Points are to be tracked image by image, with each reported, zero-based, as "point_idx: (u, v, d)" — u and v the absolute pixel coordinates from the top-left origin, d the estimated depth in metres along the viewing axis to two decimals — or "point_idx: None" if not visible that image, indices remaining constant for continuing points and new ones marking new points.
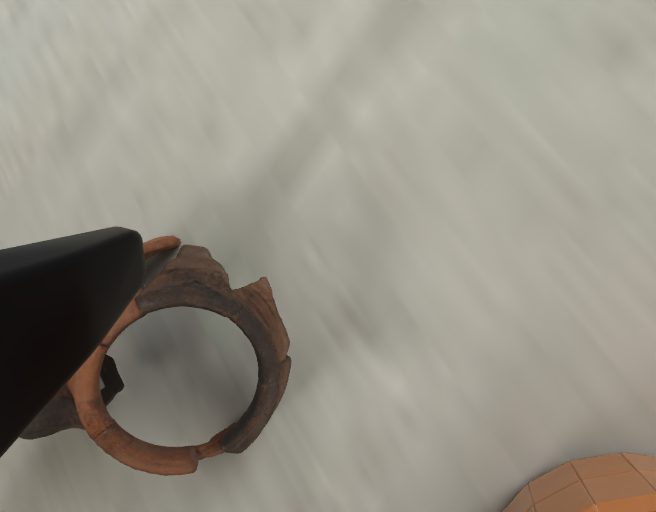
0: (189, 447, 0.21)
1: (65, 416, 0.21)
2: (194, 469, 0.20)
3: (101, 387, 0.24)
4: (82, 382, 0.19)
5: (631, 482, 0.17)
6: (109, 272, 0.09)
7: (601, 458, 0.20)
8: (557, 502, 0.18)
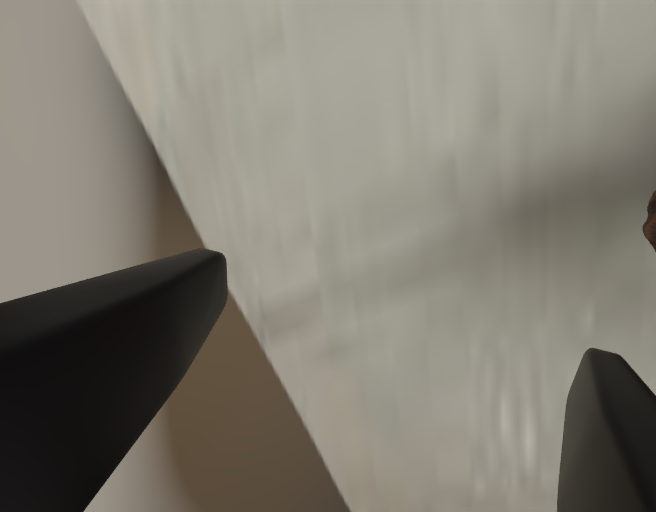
0: None
1: None
2: None
3: None
4: None
5: None
6: (198, 297, 0.08)
7: None
8: None
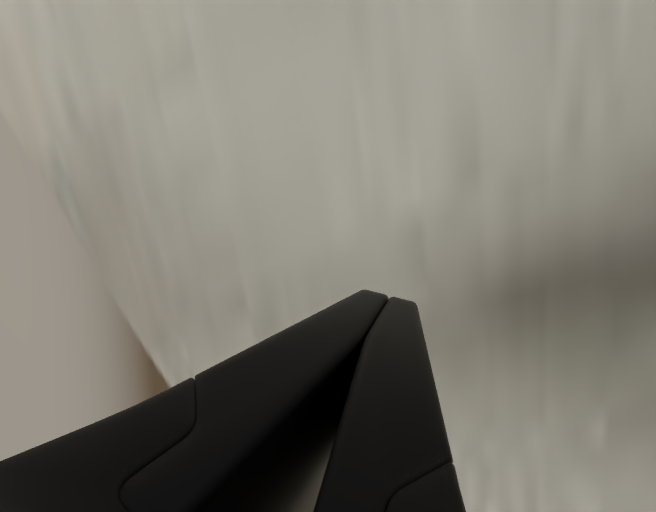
0: None
1: None
2: None
3: None
4: None
5: None
6: None
7: None
8: None
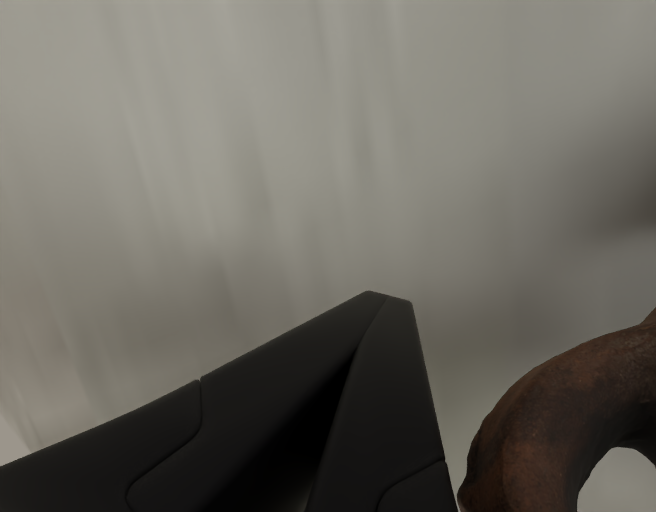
0: None
1: None
2: None
3: None
4: None
5: None
6: None
7: None
8: None
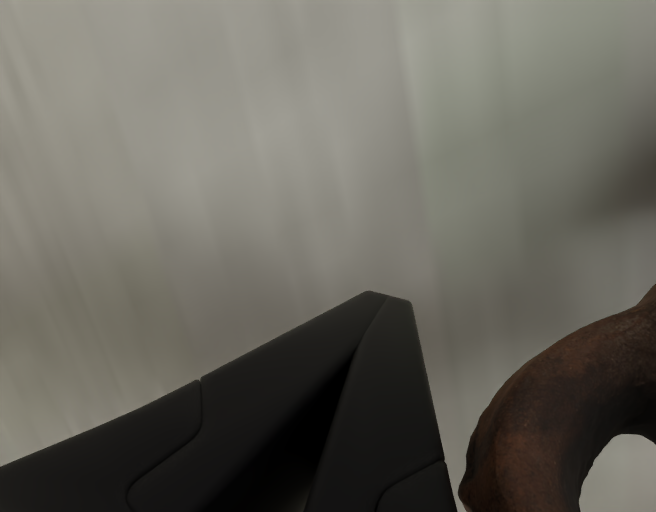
0: None
1: None
2: None
3: None
4: None
5: None
6: None
7: None
8: None
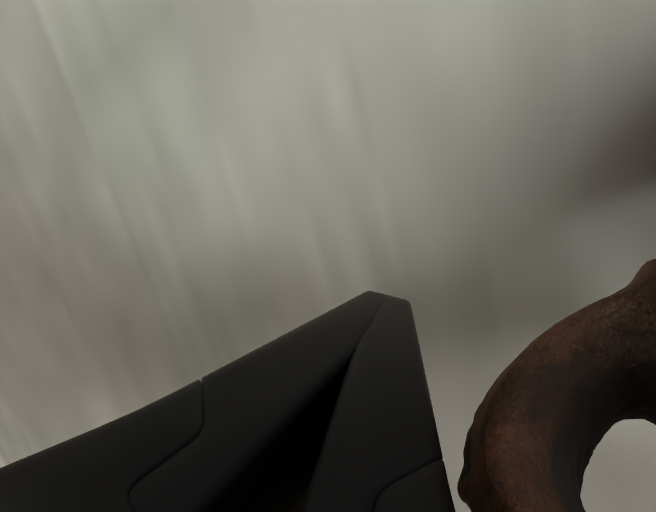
0: None
1: None
2: None
3: None
4: None
5: None
6: None
7: None
8: None
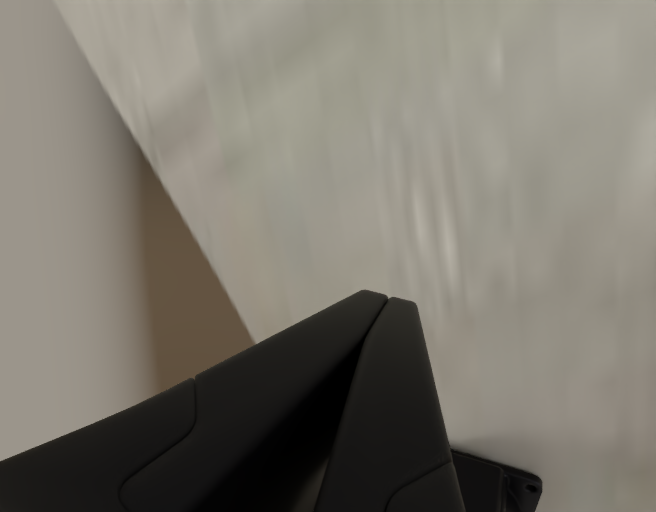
0: None
1: None
2: None
3: None
4: None
5: None
6: None
7: None
8: None
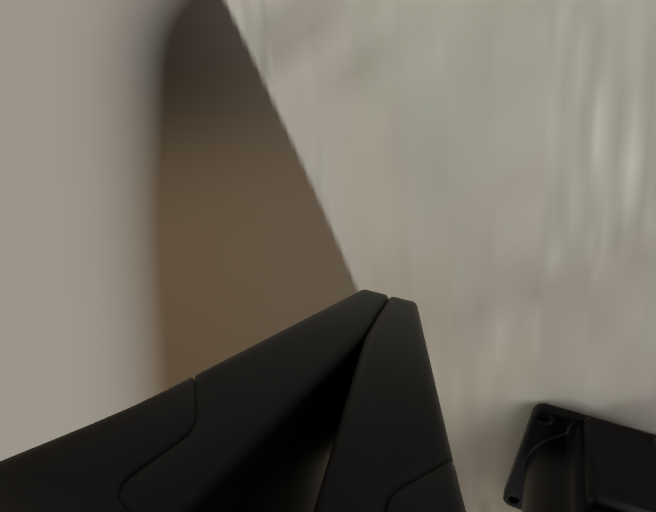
0: None
1: None
2: None
3: None
4: None
5: None
6: None
7: None
8: None
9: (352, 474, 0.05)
